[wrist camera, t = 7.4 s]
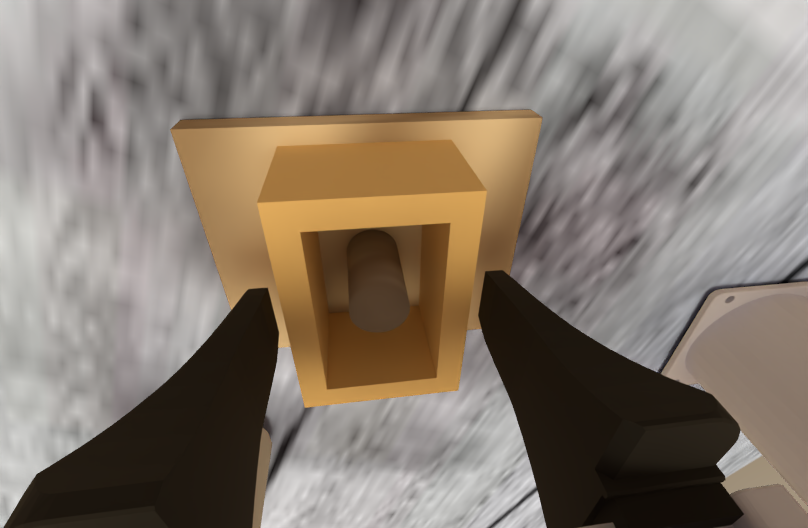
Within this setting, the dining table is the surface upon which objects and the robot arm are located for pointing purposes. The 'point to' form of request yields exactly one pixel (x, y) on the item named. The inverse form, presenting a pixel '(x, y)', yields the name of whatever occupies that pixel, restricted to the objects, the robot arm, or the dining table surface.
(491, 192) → the wooden block with peg
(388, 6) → the dining table surface
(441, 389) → the link
